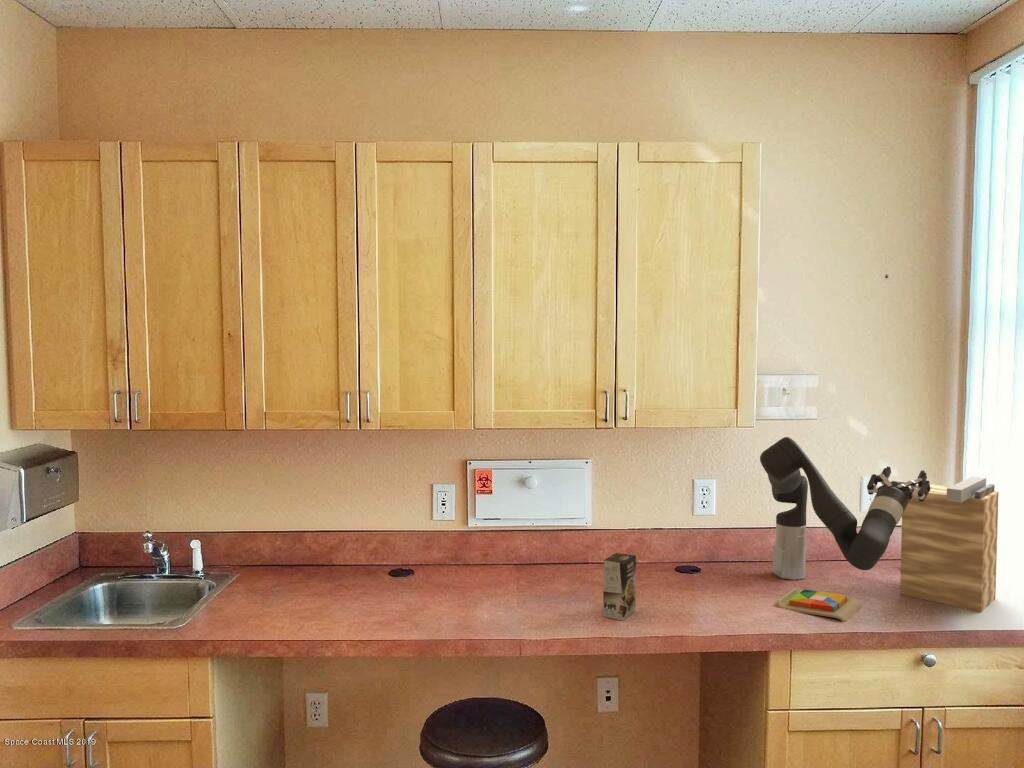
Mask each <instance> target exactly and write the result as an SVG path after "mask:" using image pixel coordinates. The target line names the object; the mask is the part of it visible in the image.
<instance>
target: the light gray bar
mask: <svg viewBox="0 0 1024 768" xmlns="http://www.w3.org/2000/svg"><path fill="white" fill-rule="evenodd" d="M950 486H951V487H948V488H947V499H946V501H952V502H960V503H961V502H963V501H965V500H967V499H969V498H971V497H973V496H975V491H977V490H979V489H981V488H983V487H985V486H987V477H979V476H971V477H968V478H966V479H964V480H962V481H960V482H958V483H954V484H953V485H950Z"/></svg>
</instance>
